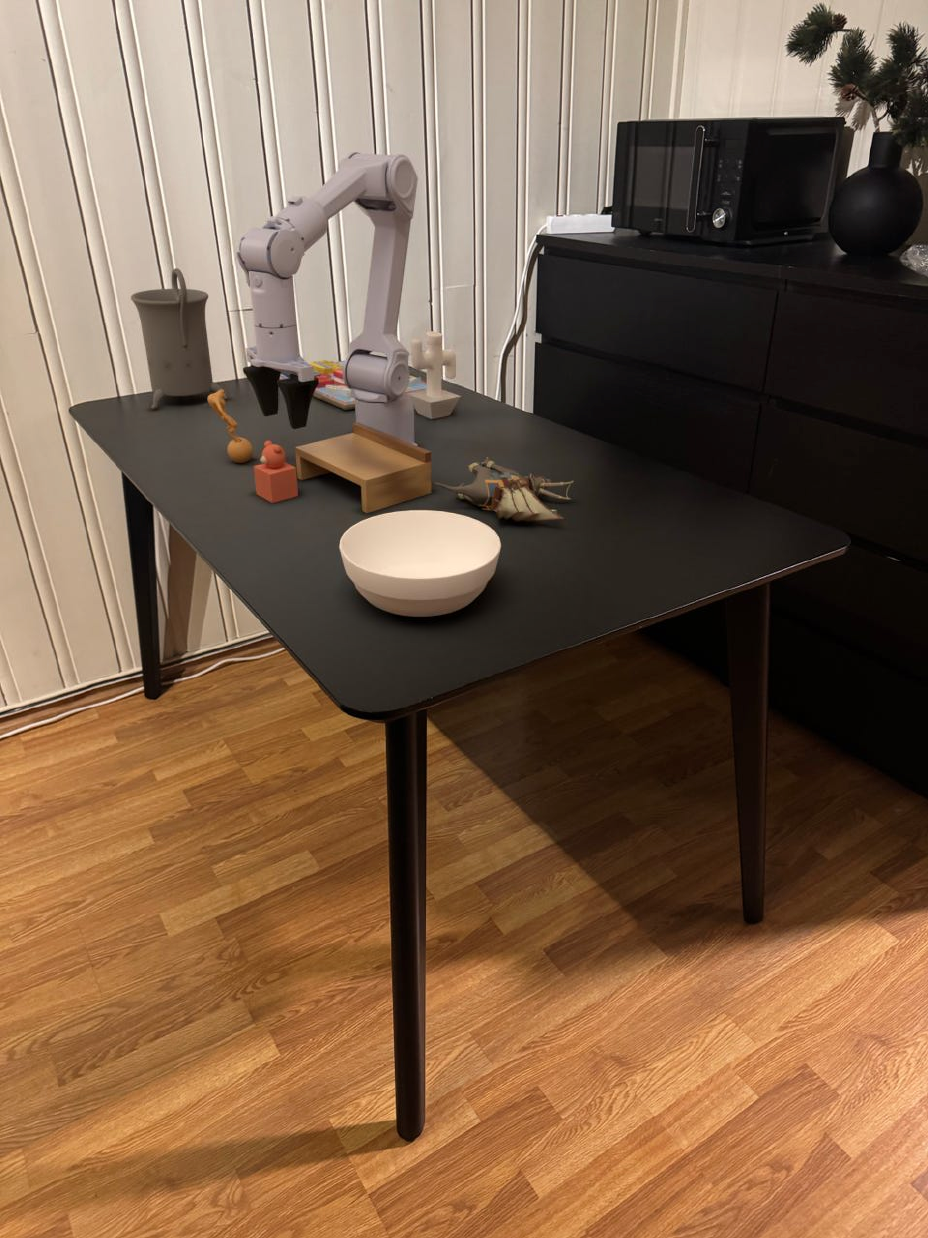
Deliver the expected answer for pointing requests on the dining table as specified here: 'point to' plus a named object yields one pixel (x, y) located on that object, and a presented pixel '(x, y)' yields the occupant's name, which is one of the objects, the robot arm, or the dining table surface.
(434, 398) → the figurine
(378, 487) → the shelf
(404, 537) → the bowl
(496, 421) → the dining table surface
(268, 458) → the orange box
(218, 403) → the figurine
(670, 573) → the dining table surface
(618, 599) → the dining table surface
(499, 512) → the figurine
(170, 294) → the grey footed cauldron
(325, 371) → the puzzle board
